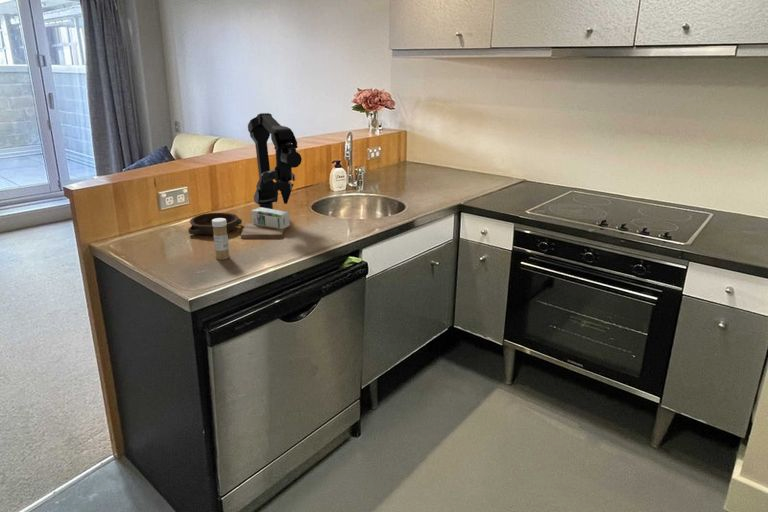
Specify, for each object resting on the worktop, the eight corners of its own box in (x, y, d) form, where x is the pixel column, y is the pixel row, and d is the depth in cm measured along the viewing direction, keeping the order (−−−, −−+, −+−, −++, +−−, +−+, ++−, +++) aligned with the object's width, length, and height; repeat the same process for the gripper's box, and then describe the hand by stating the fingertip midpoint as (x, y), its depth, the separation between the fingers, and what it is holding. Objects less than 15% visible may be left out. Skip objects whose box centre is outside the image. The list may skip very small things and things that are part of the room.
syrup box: (281, 229, 201) (251, 224, 207) (290, 225, 206) (260, 220, 212) (280, 215, 199) (250, 210, 205) (289, 211, 204) (259, 206, 210)
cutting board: (248, 225, 210) (248, 221, 210) (286, 225, 211) (285, 221, 211) (241, 238, 195) (240, 234, 195) (281, 238, 196) (281, 234, 196)
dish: (177, 231, 202) (176, 219, 200) (228, 220, 217) (227, 208, 215) (201, 242, 191) (199, 229, 189) (252, 229, 206) (251, 217, 204)
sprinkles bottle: (225, 254, 179) (221, 216, 175) (232, 257, 177) (229, 219, 172) (212, 257, 176) (209, 219, 172) (220, 261, 173) (216, 222, 169)
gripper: (265, 158, 203) (267, 197, 209) (258, 167, 186) (260, 210, 192) (294, 158, 204) (296, 197, 210) (289, 167, 187) (291, 210, 192)
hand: (285, 203), depth 201 cm, fingers closed
